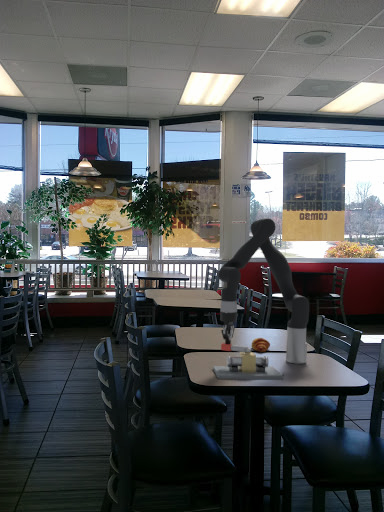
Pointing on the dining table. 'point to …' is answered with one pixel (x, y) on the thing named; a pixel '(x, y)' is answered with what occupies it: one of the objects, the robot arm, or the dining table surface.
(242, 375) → the slate board
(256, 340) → the croissant
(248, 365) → the valve pipe
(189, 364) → the dining table surface
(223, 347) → the lever
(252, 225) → the robot arm
